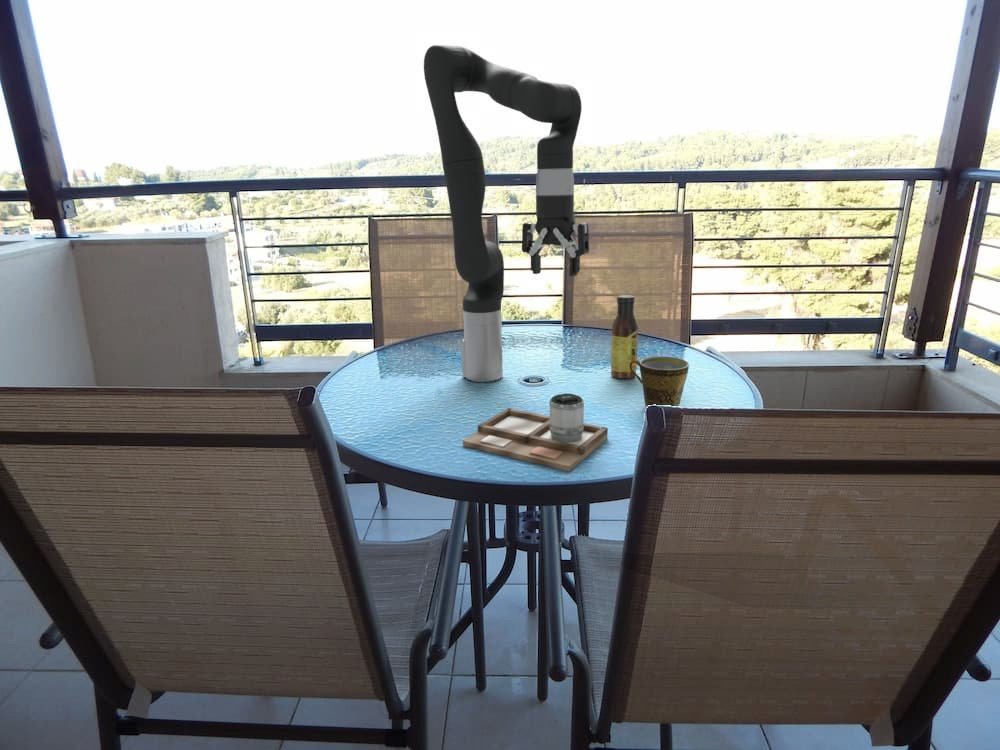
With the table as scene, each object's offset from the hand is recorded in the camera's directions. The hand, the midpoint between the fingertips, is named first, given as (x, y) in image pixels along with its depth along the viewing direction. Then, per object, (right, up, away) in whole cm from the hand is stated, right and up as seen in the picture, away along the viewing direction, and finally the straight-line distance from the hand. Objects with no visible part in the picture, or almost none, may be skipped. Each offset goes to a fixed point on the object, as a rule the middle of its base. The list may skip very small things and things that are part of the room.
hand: (554, 274), depth 129 cm
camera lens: (+1, -32, -13) cm, 35 cm away
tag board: (-5, -33, -12) cm, 36 cm away
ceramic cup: (+22, -28, +5) cm, 36 cm away
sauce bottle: (+19, -21, +25) cm, 38 cm away
